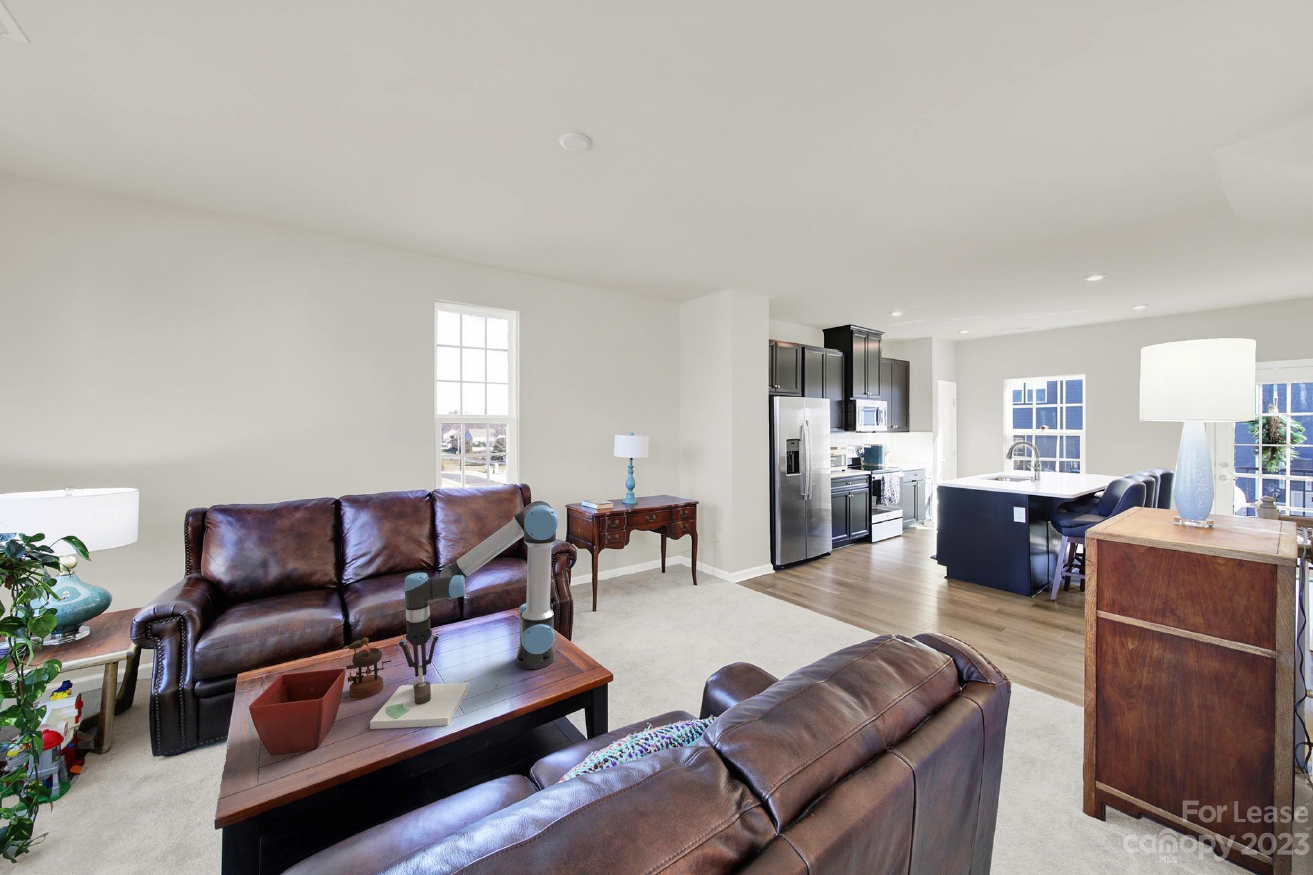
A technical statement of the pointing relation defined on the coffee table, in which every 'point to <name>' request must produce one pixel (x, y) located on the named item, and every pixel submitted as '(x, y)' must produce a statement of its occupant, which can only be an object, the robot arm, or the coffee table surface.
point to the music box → (365, 658)
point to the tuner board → (420, 707)
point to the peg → (421, 692)
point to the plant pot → (298, 710)
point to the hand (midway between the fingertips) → (421, 684)
